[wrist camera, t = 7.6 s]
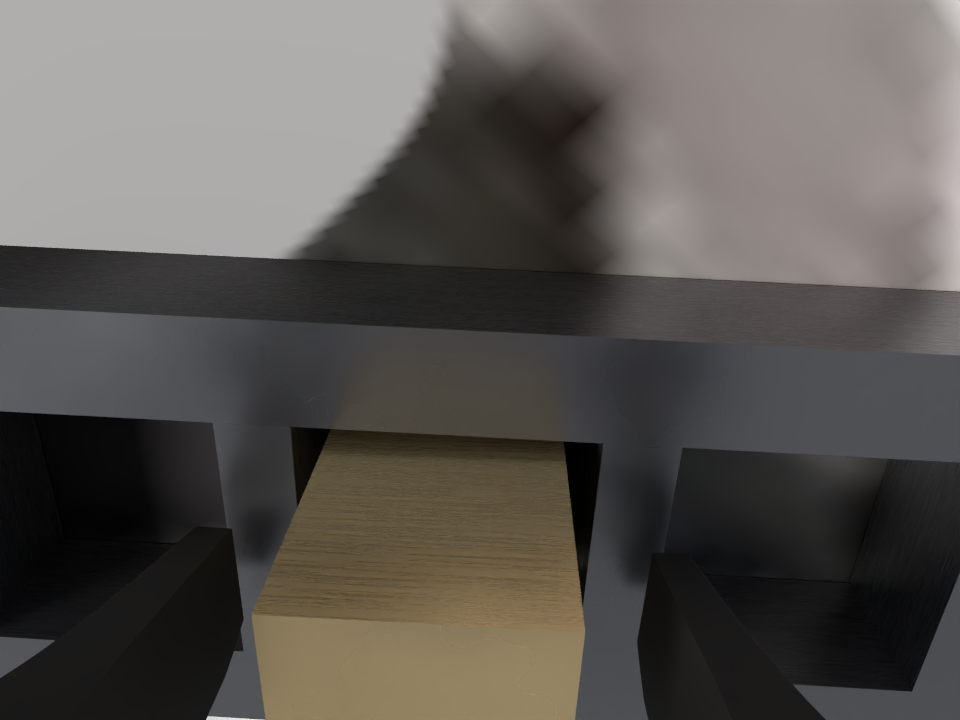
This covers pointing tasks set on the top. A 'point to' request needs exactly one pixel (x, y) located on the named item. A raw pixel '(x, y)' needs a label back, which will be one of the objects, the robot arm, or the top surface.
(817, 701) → the grey compartment tray
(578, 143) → the top surface
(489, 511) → the tan rectangular block
